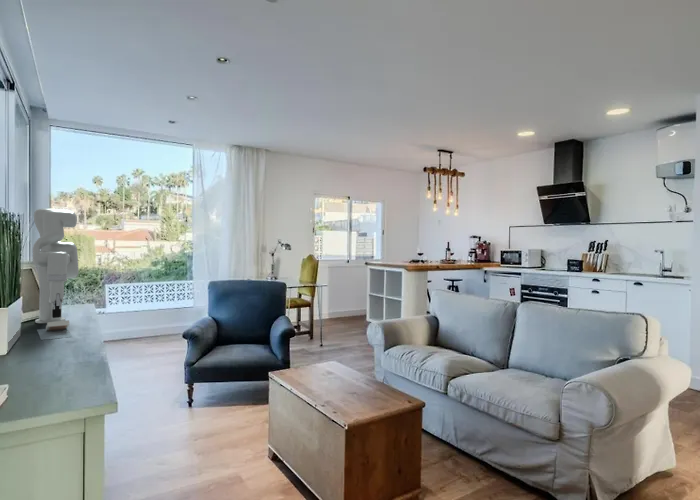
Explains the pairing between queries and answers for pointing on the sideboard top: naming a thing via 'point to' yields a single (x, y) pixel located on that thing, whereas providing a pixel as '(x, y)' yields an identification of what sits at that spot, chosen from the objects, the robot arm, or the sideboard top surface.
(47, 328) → the picture frame
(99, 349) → the sideboard top surface
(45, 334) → the mat
